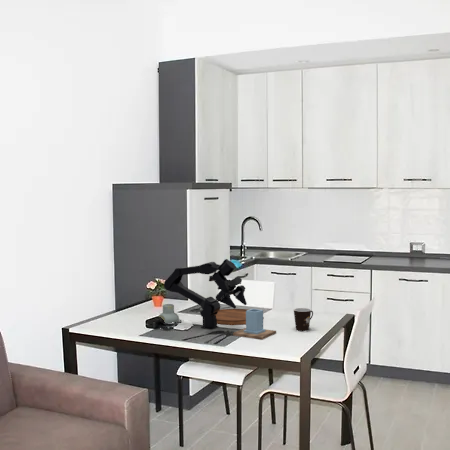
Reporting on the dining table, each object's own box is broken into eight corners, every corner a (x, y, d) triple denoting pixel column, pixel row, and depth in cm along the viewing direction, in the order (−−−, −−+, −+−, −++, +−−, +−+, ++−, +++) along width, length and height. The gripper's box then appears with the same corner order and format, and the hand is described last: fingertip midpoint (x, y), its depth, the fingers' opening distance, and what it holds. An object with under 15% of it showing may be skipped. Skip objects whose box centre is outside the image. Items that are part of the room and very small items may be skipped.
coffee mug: (297, 332, 300) (297, 312, 299) (291, 328, 308) (290, 308, 307) (319, 330, 303) (319, 310, 302) (312, 326, 311) (312, 307, 311)
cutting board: (243, 328, 310) (243, 323, 310) (192, 321, 328) (192, 316, 328) (274, 316, 337) (274, 312, 337) (225, 310, 354) (225, 306, 354)
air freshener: (156, 323, 323) (156, 304, 322) (169, 320, 328) (169, 302, 327) (167, 326, 314) (167, 307, 314) (180, 324, 319) (180, 305, 319)
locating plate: (233, 335, 295) (233, 326, 295) (247, 329, 307) (247, 321, 307) (262, 339, 287) (262, 330, 286) (276, 333, 298) (276, 324, 298)
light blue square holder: (243, 332, 296) (243, 310, 295) (252, 329, 302) (252, 308, 301) (256, 334, 291) (256, 312, 291) (265, 331, 298) (265, 309, 297)
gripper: (219, 274, 295) (239, 298, 289) (241, 269, 310) (260, 292, 304) (207, 289, 300) (226, 313, 295) (229, 283, 315) (247, 306, 310)
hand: (240, 306), depth 301 cm, fingers open, 9 cm apart
